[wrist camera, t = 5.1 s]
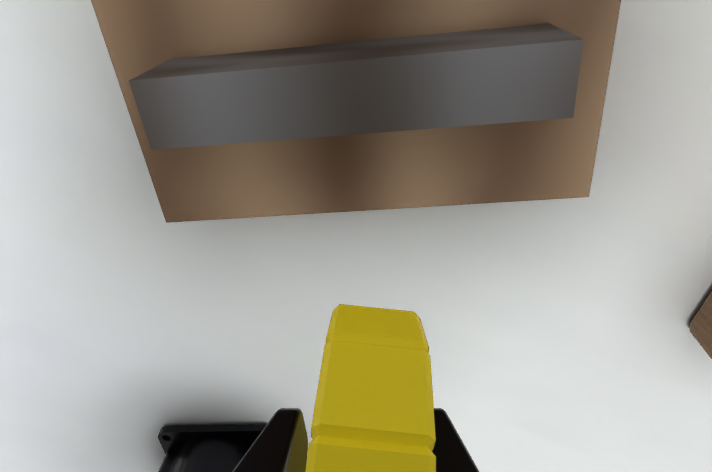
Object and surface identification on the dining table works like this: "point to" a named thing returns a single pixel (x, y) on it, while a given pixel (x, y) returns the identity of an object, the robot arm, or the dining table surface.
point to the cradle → (360, 101)
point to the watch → (373, 395)
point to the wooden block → (703, 325)
